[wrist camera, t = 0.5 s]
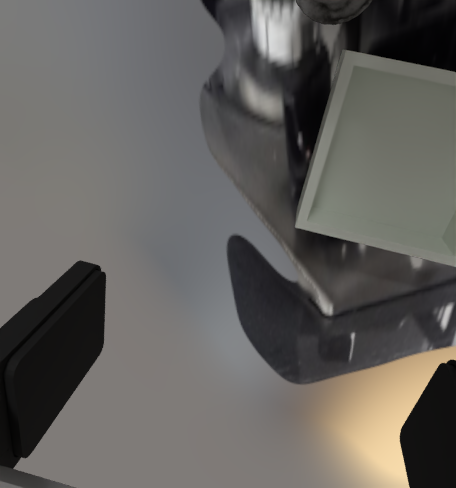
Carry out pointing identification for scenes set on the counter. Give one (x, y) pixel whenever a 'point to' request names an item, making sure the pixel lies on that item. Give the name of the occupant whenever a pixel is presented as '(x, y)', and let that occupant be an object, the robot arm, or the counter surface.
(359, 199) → the sage bin
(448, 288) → the counter surface
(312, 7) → the salt shaker
